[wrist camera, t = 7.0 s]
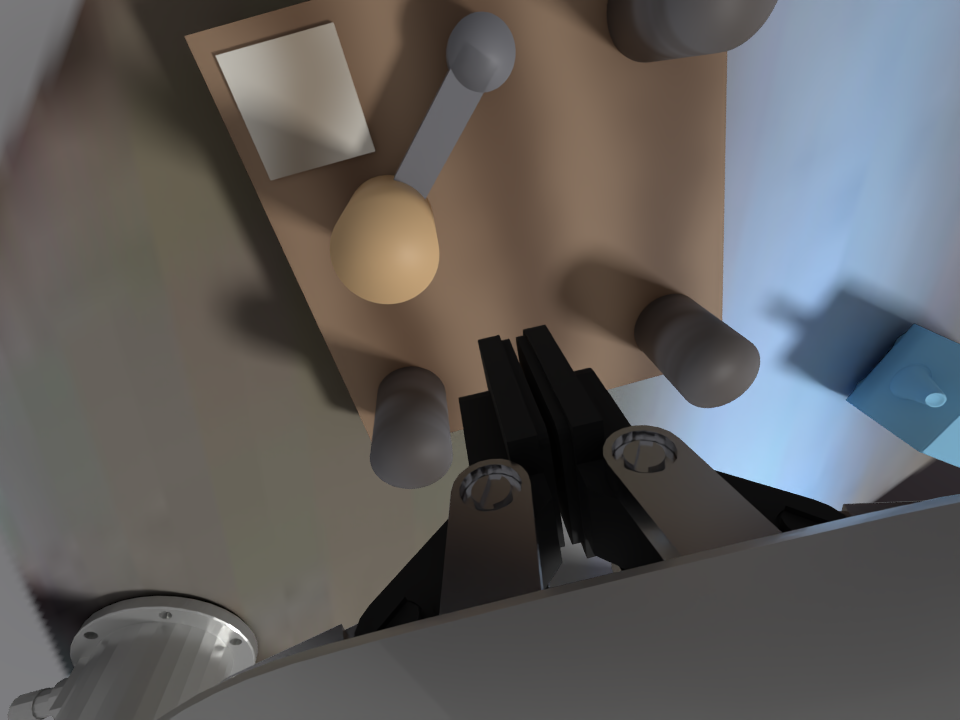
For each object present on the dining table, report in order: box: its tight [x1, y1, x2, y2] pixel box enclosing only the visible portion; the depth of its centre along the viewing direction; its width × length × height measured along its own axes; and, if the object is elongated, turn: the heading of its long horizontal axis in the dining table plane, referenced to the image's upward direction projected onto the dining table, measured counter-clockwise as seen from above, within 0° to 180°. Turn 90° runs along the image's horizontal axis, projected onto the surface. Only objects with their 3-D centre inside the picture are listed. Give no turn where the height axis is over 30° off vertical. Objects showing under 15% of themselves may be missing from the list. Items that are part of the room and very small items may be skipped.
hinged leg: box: [330, 12, 516, 304], centre depth 17 cm, size 10×4×5 cm, turn 148°
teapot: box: [846, 324, 960, 467], centre depth 30 cm, size 12×6×8 cm, turn 66°
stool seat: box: [184, 0, 778, 489], centre depth 21 cm, size 20×20×8 cm
